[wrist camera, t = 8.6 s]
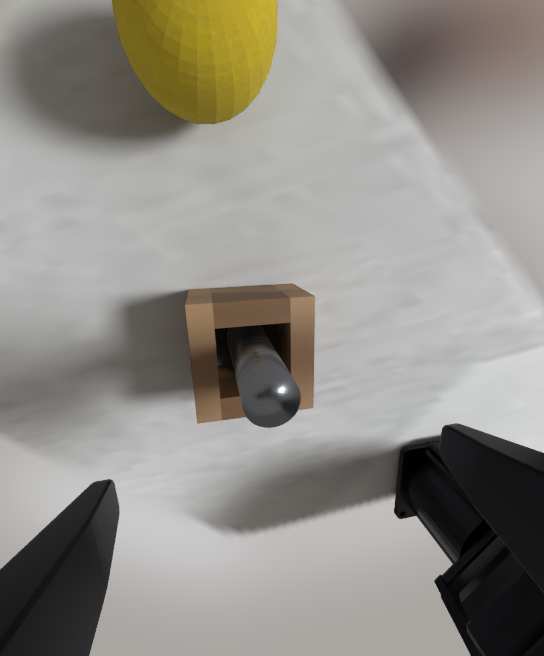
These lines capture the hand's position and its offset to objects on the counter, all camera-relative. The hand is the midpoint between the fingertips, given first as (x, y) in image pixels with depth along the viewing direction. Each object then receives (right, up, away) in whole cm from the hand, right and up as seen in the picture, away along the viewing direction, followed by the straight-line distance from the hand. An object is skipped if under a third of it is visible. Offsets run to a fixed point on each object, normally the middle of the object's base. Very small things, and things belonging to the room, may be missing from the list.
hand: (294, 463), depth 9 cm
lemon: (-4, +16, +7) cm, 17 cm away
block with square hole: (-2, +3, +11) cm, 11 cm away
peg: (-2, +3, +11) cm, 11 cm away
